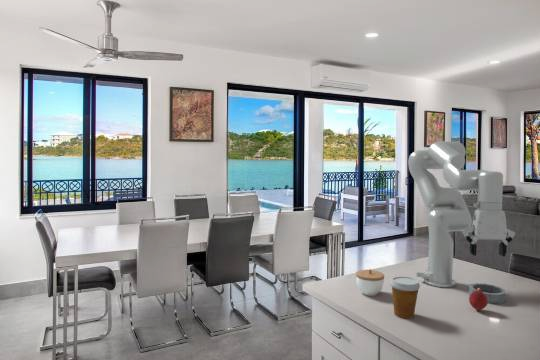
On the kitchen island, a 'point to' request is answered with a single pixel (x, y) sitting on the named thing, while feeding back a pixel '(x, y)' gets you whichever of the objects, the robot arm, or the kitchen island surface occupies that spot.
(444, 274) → the robot arm
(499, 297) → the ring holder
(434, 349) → the kitchen island surface
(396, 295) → the disposable coffee cup
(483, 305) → the onion
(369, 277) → the lidded jar
